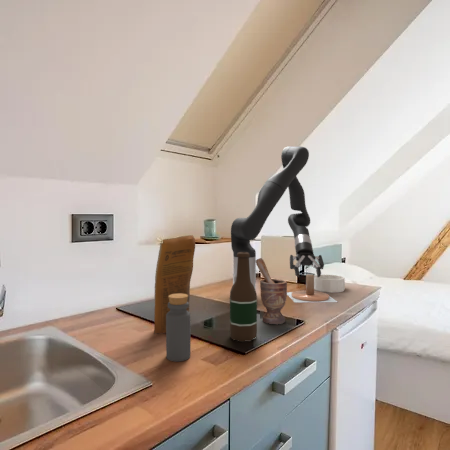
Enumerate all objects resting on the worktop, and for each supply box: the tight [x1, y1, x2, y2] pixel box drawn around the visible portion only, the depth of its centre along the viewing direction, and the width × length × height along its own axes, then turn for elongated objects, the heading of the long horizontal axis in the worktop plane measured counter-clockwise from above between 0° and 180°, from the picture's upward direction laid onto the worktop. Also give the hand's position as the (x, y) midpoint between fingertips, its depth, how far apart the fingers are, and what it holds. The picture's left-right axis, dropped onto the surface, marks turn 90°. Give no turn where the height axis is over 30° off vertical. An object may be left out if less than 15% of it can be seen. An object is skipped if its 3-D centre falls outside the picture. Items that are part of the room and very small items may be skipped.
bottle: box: [165, 293, 191, 362], centre depth 82 cm, size 6×6×15 cm
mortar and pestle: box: [256, 257, 288, 325], centre depth 110 cm, size 12×9×20 cm
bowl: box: [314, 274, 346, 293], centre depth 154 cm, size 13×13×6 cm
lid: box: [291, 273, 330, 301], centre depth 139 cm, size 15×15×9 cm
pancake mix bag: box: [153, 234, 196, 335], centre depth 103 cm, size 7×19×28 cm, turn 148°
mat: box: [287, 291, 338, 304], centre depth 139 cm, size 17×17×1 cm
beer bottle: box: [229, 252, 258, 341], centre depth 94 cm, size 8×8×24 cm
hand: (308, 276), depth 142 cm, fingers open, 8 cm apart
